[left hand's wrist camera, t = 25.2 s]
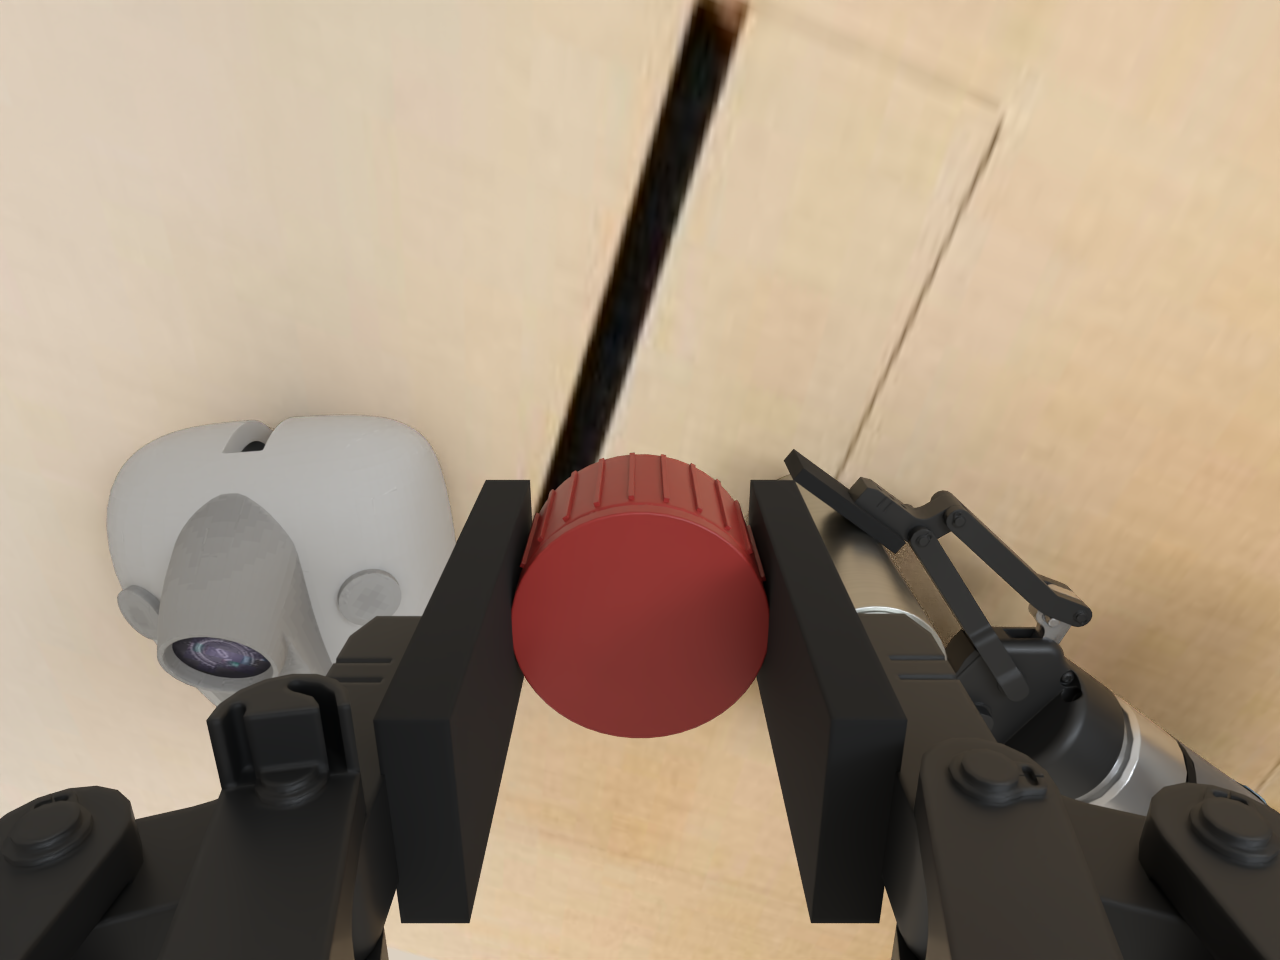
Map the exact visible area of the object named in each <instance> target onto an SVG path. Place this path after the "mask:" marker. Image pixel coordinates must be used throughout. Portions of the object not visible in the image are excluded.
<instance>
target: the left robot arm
mask: <svg viewBox="0 0 1280 960" xmlns="http://www.w3.org/2000/svg"><path fill="white" fill-rule="evenodd" d="M748 525H750V526H751V530H752V533H753V536H754V540H755V543H756V547H757V550H758V553H759V557H760V560H761V563H762V567H763V570H764V574H765V577H766V581H763V585H764V588H765V592H766V595H767V600H768V604H769V628H768V643H767V653H766V656H765V659H764V662H763V664H762V667H761V669H760V670H759V672H758V674H757V676H756V677H757V681H758V686H759V690H760V695H761V699H762V704H763V708H764V713H765V717H766V722H767V726H768V731H769V735H770V740H771V744H772V749H773V753H774V758H775V762H776V767H777V771H778V776H779V780H780V785H781V789H782V794H783V799H784V803H785V808H786V812H787V817H788V821H789V826H790V830H791V835H792V839H793V844H794V848H795V853H796V857H797V862H798V866H799V871H800V875H801V880H802V884H803V889H804V893H805V898H806V902H807V907H808V911H809V916H810V920H811V923H879V921H880V914H881V907H882V900H883V893H884V886H885V888H886V891H887V894H888V897H889V900H890V903H891V906H892V909H893V912H894V915H895V918H896V921H897V925H896V932H895V938H894V945H893V952H892V958H891V960H1280V814H1279V813H1278V812H1277V811H1275V810H1274V809H1272V808H1270V807H1268V806H1266V805H1264V804H1262V803H1260V802H1258V801H1256V800H1254V799H1252V798H1250V797H1248V796H1246V795H1244V794H1241V793H1238V792H1235V791H1232V790H1228V789H1225V788H1221V787H1218V786H1215V785H1208V784H1197V783H1187V782H1184V783H1179V784H1175V785H1170V786H1165V787H1163V788H1162V789H1161V790H1160V791H1159V792H1157V793H1156V794H1155V795H1154V796H1153V797H1152V798H1151V802H1150V805H1149V809H1148V813H1147V816H1143V815H1138V814H1134V813H1129V812H1125V811H1120V810H1116V809H1111V808H1107V807H1102V806H1098V805H1093V804H1089V803H1086V802H1082V801H1079V800H1075V799H1072V798H1069V797H1066V796H1063V795H1061V794H1060V792H1059V789H1058V787H1057V786H1056V784H1055V783H1054V781H1053V780H1052V778H1051V777H1050V775H1049V774H1048V772H1047V771H1046V770H1045V769H1044V768H1042V767H1041V766H1040V765H1039V764H1037V763H1036V762H1035V761H1034V760H1032V759H1031V758H1030V757H1029V756H1027V755H1025V754H1023V753H1021V752H1019V751H1017V750H1015V749H1013V748H1010V747H1008V746H1006V745H1004V744H1001V743H997V741H996V739H995V738H994V736H993V735H992V733H991V731H990V730H989V728H988V726H987V725H986V723H985V721H984V720H983V718H982V716H981V715H980V713H979V711H978V710H977V708H976V706H975V705H974V703H973V701H972V700H971V698H970V697H969V695H968V693H967V692H966V690H965V688H964V687H963V685H962V683H961V682H960V680H957V678H956V673H955V672H954V670H953V668H952V667H951V665H950V664H949V662H948V660H945V655H944V654H943V652H942V650H941V649H940V647H939V645H938V644H937V642H936V640H935V639H934V637H933V635H932V634H931V633H930V632H929V631H928V630H926V629H925V628H923V627H922V626H921V625H919V624H918V623H917V622H915V621H914V620H913V619H911V618H910V617H909V616H907V615H906V614H905V613H857V611H856V609H855V607H854V605H853V603H852V601H851V599H850V597H849V594H848V592H847V590H846V588H845V586H844V584H843V582H842V580H841V577H840V575H839V573H838V571H837V569H836V567H835V565H834V563H833V560H832V558H831V556H830V554H829V552H828V550H827V548H826V546H825V543H824V541H823V539H822V537H821V535H820V533H819V531H818V529H817V527H816V524H815V522H814V520H813V518H812V516H811V514H810V512H809V510H808V507H807V505H806V503H805V501H804V499H803V497H802V495H801V493H800V490H799V488H798V486H797V484H796V482H795V480H751V483H750V502H749V522H748ZM531 526H532V511H531V492H530V480H486V481H485V483H484V485H483V487H482V489H481V492H480V494H479V496H478V498H477V500H476V502H475V504H474V506H473V509H472V511H471V513H470V515H469V517H468V519H467V521H466V523H465V526H464V528H463V530H462V532H461V534H460V536H459V538H458V540H457V543H456V545H455V547H454V549H453V551H452V553H451V555H450V557H449V559H448V562H447V564H446V566H445V568H444V570H443V572H442V574H441V576H440V579H439V581H438V583H437V585H436V587H435V589H434V591H433V593H432V596H431V598H430V600H429V602H428V604H427V606H426V608H425V610H424V613H423V615H422V616H376V617H374V618H373V619H372V620H370V621H369V622H368V623H366V624H365V625H364V626H362V627H361V628H360V629H358V630H357V631H356V632H354V633H353V634H352V635H350V636H349V638H348V640H347V641H346V643H345V645H344V646H343V648H342V650H341V651H340V653H339V655H338V656H337V658H336V663H333V665H332V666H331V668H330V670H329V671H328V673H327V675H326V676H323V675H319V674H288V675H284V676H279V677H274V678H269V679H265V680H262V681H260V682H257V683H255V684H252V685H250V686H248V687H245V688H243V689H240V690H239V691H237V692H236V693H234V694H233V695H231V696H230V697H229V698H227V699H226V700H224V701H223V702H221V703H220V704H219V705H218V706H217V707H216V709H215V710H214V711H213V713H212V714H211V715H210V716H209V718H208V719H207V720H206V721H207V726H208V730H209V735H210V739H211V743H212V748H213V752H214V757H215V761H216V765H217V770H218V774H219V779H220V783H221V787H222V790H221V793H220V796H219V798H218V799H216V800H214V801H210V802H207V803H203V804H200V805H197V806H193V807H189V808H185V809H180V810H176V811H171V812H167V813H162V814H158V815H153V816H149V817H144V818H140V819H136V820H135V817H134V814H133V810H132V807H131V803H130V801H129V800H128V799H127V798H126V797H125V796H124V795H123V794H122V793H120V792H119V791H118V790H115V789H110V788H105V787H100V786H89V787H79V788H69V789H65V790H62V791H59V792H55V793H52V794H49V795H46V796H43V797H39V798H37V799H35V800H33V801H31V802H29V803H27V804H25V805H23V806H21V807H19V808H17V809H15V810H13V811H11V812H9V813H7V814H6V815H5V816H3V817H2V818H1V819H0V960H389V959H388V952H387V945H386V938H385V932H384V924H385V921H386V918H387V915H388V912H389V909H390V906H391V903H392V900H393V897H394V894H395V891H396V889H397V896H398V903H399V910H400V918H401V923H470V918H471V914H472V909H473V905H474V900H475V896H476V891H477V887H478V882H479V878H480V873H481V869H482V864H483V860H484V855H485V851H486V846H487V842H488V837H489V832H490V828H491V823H492V819H493V814H494V810H495V805H496V801H497V796H498V792H499V787H500V783H501V778H502V774H503V769H504V765H505V760H506V756H507V751H508V747H509V742H510V738H511V733H512V729H513V724H514V720H515V715H516V710H517V706H518V701H519V697H520V692H521V688H522V683H523V679H524V674H523V672H522V671H521V669H520V667H519V665H518V662H517V659H516V657H515V654H514V649H513V635H512V618H511V607H512V603H513V599H514V595H515V591H516V587H517V584H518V580H519V577H520V573H521V570H522V568H521V567H520V564H521V560H522V557H523V553H524V550H525V547H526V543H527V540H528V536H529V533H530V529H531Z"/></svg>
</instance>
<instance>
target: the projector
mask: <svg viewBox="0 0 1280 960" xmlns="http://www.w3.org/2000/svg"><path fill="white" fill-rule="evenodd" d="M107 534H108V543H109V550H110V554H111V558H112V561H113V565H114V569H115V572H116V575H117V577H118V580H119V582H120V584H121V587H122V589H123V590H122V591H121V592H120V593H119V594H118V597H117V598H118V605H119V608H120V610H121V612H122V614H123V616H124V617H125V619H126V620H127V621H128V623H129V624H130V625H131V626H132V627H133V628H134V629H135V630H136V631H137V632H139V633H140V634H141V635H143V636H145V637H147V638H149V639H152V640H154V642H155V643H156V644H157V658H158V661H159V663H160V665H161V666H162V668H163V669H164V670H165V671H166V672H167V673H169V674H170V675H171V676H173V677H174V678H175V679H177V680H179V681H181V682H183V683H185V684H187V685H190V686H193V687H196V688H197V689H198V690H199V691H200V692H201V693H202V694H203V695H204V696H205V697H206V698H207V699H209V700H210V701H211V702H212V703H213V704H214V705H215V706H216V707H217V706H218V705H219V704H220V703H221V702H223V701H224V700H226V699H227V698H229V697H230V696H231V695H233V694H234V693H236V692H237V691H239V690H240V689H243V688H245V687H248V686H250V685H252V684H255V683H257V682H260V681H262V680H265V679H269V678H274V677H279V676H284V675H288V674H319V675H323V676H326V675H327V673H328V671H329V670H330V668H331V666H332V665H333V663H336V658H337V656H338V655H339V653H340V651H341V650H342V648H343V646H344V645H345V643H346V641H347V640H348V638H349V636H350V635H352V634H353V633H354V632H356V631H357V630H358V629H360V628H361V627H362V626H364V625H365V624H366V623H368V622H369V621H370V620H372V619H373V618H374V617H376V616H422V615H423V613H424V610H425V608H426V606H427V604H428V602H429V600H430V598H431V596H432V593H433V591H434V589H435V587H436V585H437V583H438V581H439V579H440V576H441V574H442V572H443V570H444V568H445V566H446V564H447V562H448V559H449V557H450V555H451V553H452V551H453V549H454V547H455V545H456V540H455V532H454V525H453V519H452V513H451V507H450V502H449V497H448V493H447V488H446V484H445V480H444V477H443V473H442V470H441V467H440V464H439V461H438V459H437V456H436V454H435V452H434V450H433V448H432V446H431V445H430V444H429V442H428V441H427V440H426V438H425V437H424V436H422V435H421V434H420V433H419V432H418V431H416V430H415V429H413V428H411V427H410V426H408V425H406V424H404V423H401V422H399V421H396V420H393V419H389V418H384V417H377V416H364V415H320V416H302V417H290V418H287V419H285V420H284V421H282V422H281V423H280V424H279V425H278V426H277V427H276V428H275V429H274V431H272V430H271V429H270V428H269V427H268V426H267V425H265V424H264V423H262V422H260V421H257V420H247V421H235V422H225V423H216V424H209V425H202V426H196V427H191V428H187V429H183V430H179V431H175V432H172V433H169V434H167V435H164V436H162V437H159V438H157V439H155V440H153V441H152V442H150V443H148V444H146V445H145V446H143V447H142V448H140V449H139V450H138V451H137V452H135V453H134V454H133V455H132V456H131V457H130V458H129V459H128V460H127V462H126V463H125V464H124V465H123V466H122V468H121V469H120V471H119V473H118V475H117V477H116V479H115V481H114V484H113V486H112V489H111V492H110V497H109V502H108V507H107Z"/></svg>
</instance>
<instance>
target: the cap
mask: <svg viewBox="0 0 1280 960" xmlns="http://www.w3.org/2000/svg"><path fill="white" fill-rule="evenodd" d="M520 567H521V568H522V570H521V573H520V577H519V580H518V584H517V587H516V591H515V595H514V599H513V603H512V607H511V618H512V635H513V649H514V654H515V657H516V659H517V662H518V665H519V667H520V669H521V671H522V672H523V674H524V676H525V678H526V680H527V681H528V683H529V684H530V685H531V687H532V688H533V689H534V691H535V692H536V693H537V694H538V695H539V696H540V697H541V698H542V699H543V700H544V701H545V702H546V703H547V704H548V705H549V706H550V707H552V708H553V709H554V710H555V711H557V712H558V713H559V714H561V715H563V716H564V717H566V718H567V719H569V720H571V721H572V722H575V723H577V724H579V725H581V726H583V727H585V728H588V729H591V730H594V731H597V732H600V733H604V734H608V735H613V736H618V737H628V738H653V737H662V736H668V735H673V734H677V733H681V732H684V731H687V730H690V729H693V728H696V727H698V726H700V725H702V724H704V723H706V722H708V721H710V720H712V719H714V718H715V717H717V716H718V715H720V714H722V713H723V712H724V711H726V710H727V709H728V708H729V707H731V706H732V705H733V704H734V703H735V702H736V701H737V700H738V699H739V698H740V697H741V696H742V695H743V694H744V693H745V692H746V691H747V689H748V688H749V686H750V685H751V684H752V682H753V681H754V680H755V678H756V676H757V674H758V672H759V670H760V669H761V667H762V664H763V662H764V659H765V656H766V653H767V643H768V628H769V604H768V600H767V595H766V592H765V588H764V585H763V581H766V577H765V574H764V570H763V567H762V563H761V560H760V557H759V553H758V550H757V547H756V543H755V540H754V536H753V533H752V530H751V526H750V525H748V526H747V525H746V523H745V520H744V518H743V514H742V511H741V507H740V504H739V502H738V501H737V500H736V501H734V500H733V499H732V498H731V496H730V495H729V494H728V492H727V491H726V490H725V489H724V488H723V487H722V486H721V482H720V481H719V480H718V479H716V480H714V479H713V478H711V477H710V476H708V475H707V474H706V473H704V472H703V471H701V470H699V469H697V468H696V467H695V465H694V464H692V463H691V464H690V465H689V464H686V463H684V462H681V461H679V460H675V459H672V458H668V457H666V455H662V454H661V456H656V455H648V454H641V455H635V453H630V455H625V456H617V457H613V458H609V459H605V460H604V458H602V459H599V462H597V463H594V464H592V465H589V466H587V467H586V468H584V469H582V470H580V471H578V472H577V471H574V472H573V473H572V475H571V477H570V478H568V479H567V480H566V481H564V482H563V483H562V484H561V485H560V486H559V487H558V488H557V489H556V490H555V491H554V490H553V489H552V490H551V492H550V493H549V497H548V500H547V501H546V503H545V504H544V506H543V508H542V510H541V511H540V513H539V514H538V513H536V514H535V516H534V519H533V523H532V526H531V529H530V533H529V536H528V540H527V543H526V547H525V550H524V553H523V557H522V560H521V564H520Z"/></svg>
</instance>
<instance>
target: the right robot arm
mask: <svg viewBox="0 0 1280 960" xmlns="http://www.w3.org/2000/svg"><path fill="white" fill-rule="evenodd" d="M784 462H785V464H786V466H787V468H788V470H789V472H790V475H791V477H792V479H793V480H795V482H796V483H798V484H799V485H801V486H802V487H803V488H805V489H806V490H808V491H809V492H810V493H812V494H813V495H814V496H816V497H817V498H819V499H820V500H821V501H823V502H824V503H826V504H827V505H828V506H830V507H831V508H832V509H834V510H835V511H837V512H838V513H839V514H841V515H842V516H843V517H845V518H846V519H848V520H849V521H850V522H852V523H853V524H855V525H856V526H857V527H859V528H860V529H861V530H863V531H864V532H866V533H867V534H868V535H870V536H871V537H873V538H874V539H875V540H877V541H878V542H879V543H881V544H882V545H884V546H885V547H886V548H888V549H889V550H891V551H892V552H893V553H895V554H896V553H897V552H898V550H899V549H900V548H901V547H902V546H903V545H904V544H905V543H906V542H905V541H907V542H908V543H909V545H910V546H911V548H912V550H913V551H914V553H915V554H916V556H917V557H918V559H919V561H920V562H921V564H922V565H923V567H924V569H925V570H926V572H927V573H928V575H929V576H930V578H931V580H932V581H933V583H934V584H935V586H936V587H937V589H938V591H939V592H940V594H941V595H942V597H943V598H944V600H945V602H946V603H947V605H948V606H949V608H950V610H951V611H952V613H953V615H954V616H955V618H956V619H957V621H958V622H959V624H960V626H961V627H962V629H963V630H964V631H963V630H962V629H961V630H960V631H959V632H958V633H957V634H956V635H955V636H954V637H953V638H952V639H951V641H950V642H949V644H948V646H947V647H946V649H945V651H946V655H947V660H948V662H949V664H950V665H951V667H952V668H953V670H954V672H955V673H956V678H957V680H960V682H961V683H962V685H963V687H964V688H965V690H966V692H967V693H968V695H969V697H970V698H971V700H972V701H973V703H974V705H975V706H976V708H977V710H978V711H979V713H980V715H981V716H982V718H983V720H984V721H985V723H986V725H987V726H988V728H989V730H990V731H991V733H992V735H993V736H994V738H995V739H996V741H997V743H1001V744H1004V745H1006V746H1008V747H1010V748H1013V749H1015V750H1017V751H1019V752H1021V753H1023V754H1025V755H1027V756H1029V757H1030V758H1031V759H1032V760H1034V761H1035V762H1036V763H1037V764H1039V765H1040V766H1041V767H1042V768H1044V769H1045V770H1046V771H1047V772H1048V774H1049V775H1050V777H1051V778H1052V780H1053V781H1054V783H1055V784H1056V786H1057V787H1058V789H1059V792H1060V794H1061V795H1063V796H1066V797H1069V798H1072V799H1075V800H1079V801H1082V802H1086V803H1089V804H1093V805H1098V806H1102V807H1107V808H1111V809H1116V810H1120V811H1125V812H1129V813H1134V814H1138V815H1143V816H1147V813H1148V809H1149V805H1150V802H1151V798H1152V797H1153V796H1154V795H1155V794H1156V793H1157V792H1159V791H1160V790H1161V789H1162V788H1163V787H1165V786H1170V785H1175V784H1179V783H1184V782H1187V783H1197V784H1208V785H1215V786H1218V787H1221V788H1225V789H1228V790H1232V791H1235V792H1238V793H1241V794H1244V795H1246V796H1248V797H1250V798H1252V799H1254V800H1256V801H1258V802H1260V803H1262V804H1264V805H1266V806H1268V805H1267V804H1266V802H1265V800H1264V799H1263V798H1262V797H1261V796H1260V795H1258V794H1257V793H1256V792H1254V791H1253V790H1251V789H1250V788H1248V787H1247V786H1245V785H1241V784H1240V783H1238V782H1236V781H1235V780H1233V779H1231V778H1230V777H1228V776H1227V775H1226V774H1224V773H1223V772H1221V771H1220V770H1218V769H1217V768H1216V767H1214V766H1213V765H1211V764H1210V763H1209V762H1207V761H1206V760H1204V759H1203V758H1202V757H1200V756H1199V755H1197V754H1196V753H1195V752H1193V751H1192V750H1190V749H1189V748H1188V747H1186V746H1185V745H1183V744H1182V743H1181V742H1179V741H1178V740H1176V739H1175V738H1174V737H1172V736H1171V735H1170V734H1169V733H1167V732H1166V731H1164V730H1163V729H1162V728H1160V727H1159V726H1158V725H1156V724H1155V723H1154V722H1152V721H1151V720H1150V719H1148V718H1147V717H1146V716H1144V715H1143V714H1142V713H1140V712H1139V711H1138V710H1136V709H1135V708H1134V707H1132V706H1131V705H1130V704H1128V703H1127V702H1126V701H1124V700H1123V699H1122V698H1120V697H1119V696H1117V695H1115V694H1113V693H1112V692H1111V691H1110V690H1109V689H1108V688H1107V687H1105V686H1104V685H1103V684H1101V683H1100V682H1098V681H1097V680H1096V679H1094V678H1093V677H1092V676H1090V675H1089V674H1088V673H1086V672H1085V671H1083V670H1082V669H1081V668H1079V667H1078V666H1077V665H1075V664H1074V663H1072V662H1071V661H1070V660H1068V659H1067V658H1066V657H1064V653H1063V650H1062V648H1061V647H1060V645H1059V643H1060V642H1061V640H1062V639H1063V637H1064V636H1065V634H1066V633H1067V631H1068V630H1069V628H1070V627H1071V625H1072V626H1075V627H1081V626H1084V625H1086V624H1087V623H1088V622H1089V621H1090V620H1091V618H1092V612H1091V610H1090V608H1089V607H1088V606H1087V605H1086V604H1085V603H1084V602H1082V600H1081V599H1080V598H1079V597H1078V596H1077V595H1076V594H1075V593H1074V592H1073V591H1072V590H1071V589H1070V588H1069V587H1068V586H1067V585H1065V584H1063V583H1060V582H1058V581H1055V580H1052V579H1050V578H1047V577H1045V576H1042V575H1039V574H1037V573H1036V572H1035V571H1034V570H1032V569H1031V568H1030V567H1029V566H1028V565H1027V564H1026V563H1025V562H1024V561H1023V560H1022V559H1021V558H1020V557H1019V556H1018V555H1016V554H1015V553H1014V552H1013V551H1012V550H1011V549H1010V548H1009V547H1008V546H1007V545H1006V544H1005V543H1004V542H1003V541H1002V540H1000V539H999V538H998V537H997V536H996V535H995V534H994V533H993V532H992V531H991V530H990V529H989V528H988V527H987V526H985V525H984V524H983V523H982V522H981V521H980V520H979V519H978V518H977V517H976V516H975V515H974V514H973V513H972V512H971V511H969V510H968V509H967V508H966V507H965V506H964V505H963V504H962V503H961V502H960V501H959V500H958V499H957V498H956V497H955V496H953V495H952V494H951V493H950V492H948V491H939V492H937V493H935V494H934V495H933V496H932V498H931V501H930V502H929V503H927V504H925V505H923V506H921V507H918V508H913V507H912V506H911V505H908V504H903V503H902V502H900V501H899V500H898V499H896V498H895V497H894V496H892V495H891V494H890V493H888V492H887V491H885V490H884V489H883V488H881V487H880V486H879V485H877V484H876V483H875V482H873V481H872V480H871V479H867V478H863V477H860V478H859V479H858V480H857V481H856V483H855V484H854V485H853V486H852V487H851V488H850V489H847V488H846V487H845V486H843V485H842V484H841V483H839V482H838V481H837V480H835V479H834V478H832V477H831V476H830V475H828V474H827V473H826V472H824V471H823V470H822V469H820V468H819V467H817V466H816V465H815V464H813V463H812V462H811V461H809V460H808V459H807V458H805V457H804V456H802V455H801V454H800V453H798V452H797V451H796V450H794V449H793V450H792V451H791V453H790V454H789V455H788V456H787V457H786V459H785V460H784ZM951 531H952V532H953V533H954V534H955V535H956V536H957V537H958V538H959V539H960V540H961V541H963V542H964V543H965V544H966V545H967V546H968V547H969V548H970V549H971V550H972V551H973V552H974V553H976V554H977V555H978V556H979V557H980V558H981V559H982V560H983V561H984V562H985V563H986V564H988V565H989V566H990V567H991V568H992V569H993V570H994V571H995V572H996V573H997V574H998V575H999V576H1001V577H1002V578H1003V579H1004V580H1005V581H1006V582H1007V583H1008V584H1009V585H1010V586H1011V587H1013V588H1014V589H1015V590H1016V591H1017V592H1018V593H1019V594H1020V595H1021V596H1022V597H1023V598H1024V599H1026V600H1027V601H1028V602H1029V603H1030V604H1029V608H1028V609H1029V612H1030V614H1031V615H1032V616H1033V617H1034V618H1035V620H1036V621H1037V626H1036V627H991V625H990V624H989V622H988V621H987V619H986V617H985V616H984V614H983V613H982V611H981V609H980V608H979V606H978V604H977V603H976V601H975V600H974V598H973V596H972V595H971V593H970V592H969V590H968V588H967V587H966V585H965V583H964V582H963V580H962V579H961V577H960V575H959V574H958V572H957V571H956V569H955V567H954V566H953V564H952V562H951V561H950V559H949V558H948V556H947V554H946V553H945V551H944V550H943V548H942V546H941V545H940V543H939V541H938V540H937V539H938V538H940V537H942V536H943V535H945V534H947V533H949V532H951ZM904 540H905V541H904ZM1268 807H1269V806H1268Z"/></svg>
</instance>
